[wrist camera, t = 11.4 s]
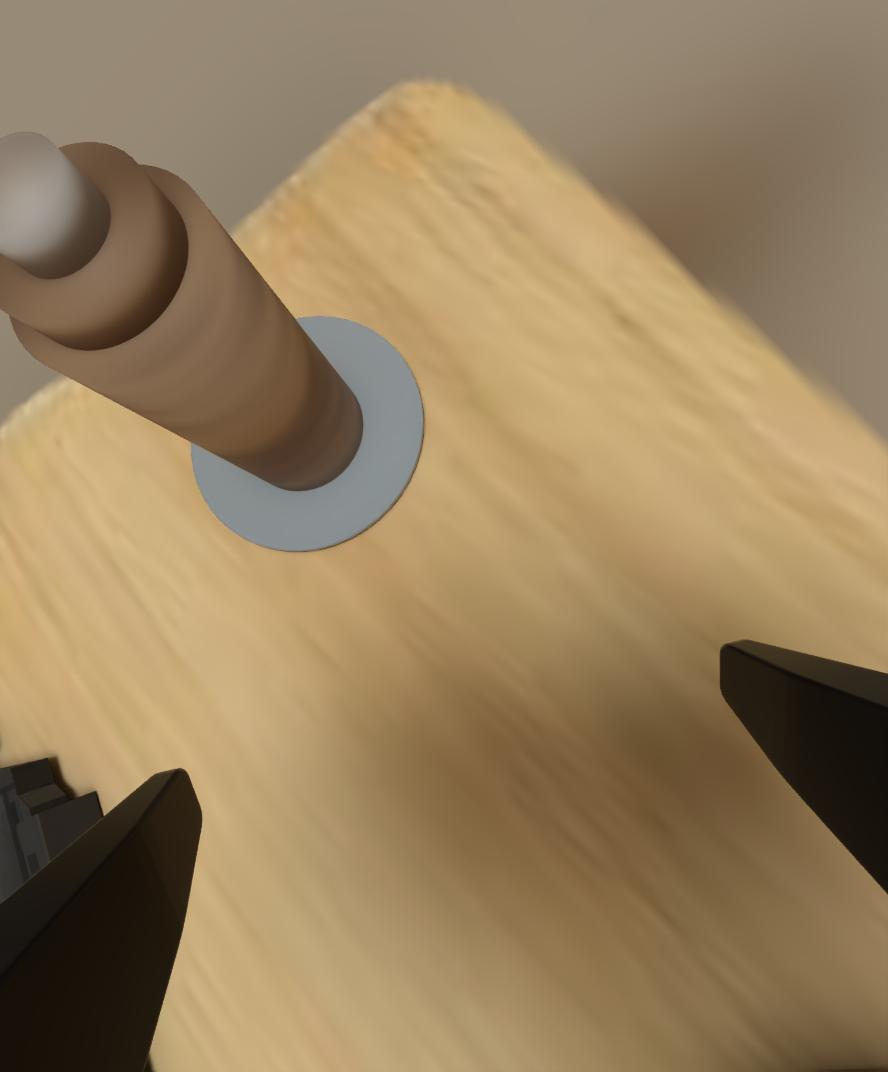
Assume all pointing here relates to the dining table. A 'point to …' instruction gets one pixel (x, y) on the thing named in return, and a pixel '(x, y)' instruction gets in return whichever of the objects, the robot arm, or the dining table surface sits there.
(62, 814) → the firearm
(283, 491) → the slate mat
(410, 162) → the dining table surface
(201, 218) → the pepper mill
